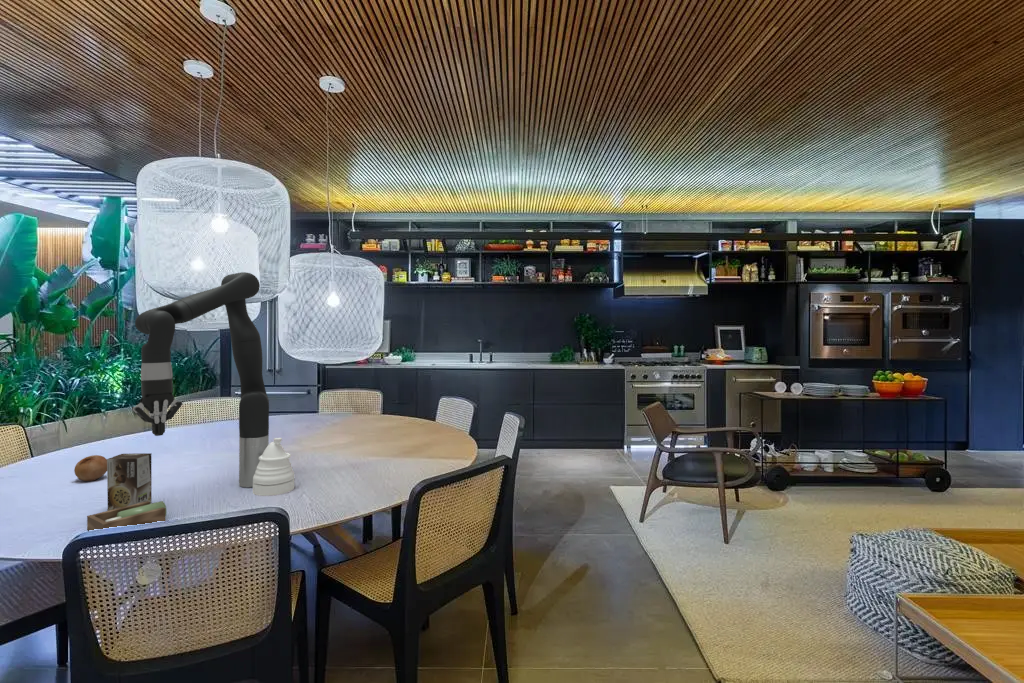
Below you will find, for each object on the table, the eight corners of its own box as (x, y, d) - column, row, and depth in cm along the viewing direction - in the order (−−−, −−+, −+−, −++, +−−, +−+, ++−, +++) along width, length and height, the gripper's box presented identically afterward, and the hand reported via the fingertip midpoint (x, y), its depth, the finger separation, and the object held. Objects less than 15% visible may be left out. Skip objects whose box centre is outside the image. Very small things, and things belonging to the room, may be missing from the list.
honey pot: (302, 488, 167) (302, 436, 167) (267, 498, 156) (267, 443, 156) (279, 482, 174) (280, 432, 173) (244, 491, 163) (245, 438, 162)
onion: (88, 491, 170) (80, 469, 166) (72, 481, 173) (64, 459, 169) (117, 475, 178) (111, 454, 174) (101, 465, 181) (94, 444, 177)
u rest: (147, 514, 141) (147, 500, 141) (165, 522, 135) (165, 508, 135) (87, 530, 129) (87, 515, 129) (103, 539, 123) (103, 524, 123)
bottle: (160, 497, 139) (105, 511, 128) (168, 508, 137) (112, 523, 126) (156, 511, 140) (101, 526, 129) (164, 522, 138) (108, 538, 127)
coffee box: (152, 504, 149) (152, 452, 149) (137, 511, 143) (137, 458, 143) (122, 504, 149) (123, 452, 149) (106, 511, 143) (106, 458, 143)
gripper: (174, 375, 151) (176, 430, 151) (124, 379, 139) (126, 438, 139) (187, 376, 147) (189, 432, 147) (137, 380, 135) (139, 441, 136)
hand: (158, 435), depth 143 cm, fingers closed
